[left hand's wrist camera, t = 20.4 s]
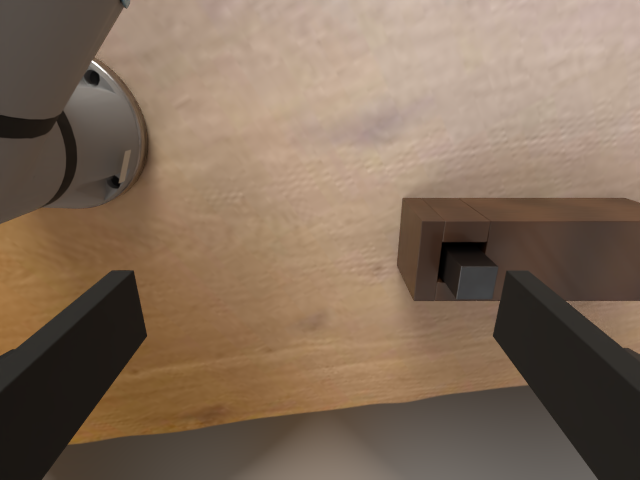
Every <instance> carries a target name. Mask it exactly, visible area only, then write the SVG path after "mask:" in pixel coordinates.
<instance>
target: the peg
mask: <svg viewBox="0 0 640 480" xmlns="http://www.w3.org/2000/svg"><path fill="white" fill-rule="evenodd" d="M438 273H439V275H440V276H441V278H442V279H443V281H444V282H445V283H446V285H447V286H448V288H449V289H450V291H451V292H452V294H453V295H454V297H455V298H456V299H492V298H493V293H494V288H495V283H496V278H497V273H498V266H497V265H496V264H495V263H494V262H493V261H492V260H491V259H490V258H489V257H487V256H486V255H485V254H484V253H483V252H482V251H481V250H480V249H479V248H478V247H477V246H476V245H475V244H474V243H472V242H442V247H441V254H440V262H439V270H438Z"/></svg>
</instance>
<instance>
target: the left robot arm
mask: <svg viewBox="0 0 640 480" xmlns="http://www.w3.org/2000/svg"><path fill="white" fill-rule="evenodd" d="M129 4H130V0H0V224H1V223H4V222H6V221H9V220H11V219H14V218H16V217H19V216H21V215H24V214H26V213H29V212H32V211H34V210H36V209H39V208H41V207H47V208H74V209H76V208H78V209H79V208H90V207H95V206H99V205H102V204H104V203H107V202H109V201H111V200H113V199H115V198H117V197H119V196H121V195H122V194H124V193H125V192H126V191H128V190H129V189H130V188H131V187H132V186H133V185H134V183H135V182H136V181H137V179H138V178H139V176H140V174H141V172H142V170H143V168H144V165H145V161H146V157H147V148H148V138H147V130H146V125H145V121H144V118H143V115H142V112H141V110H140V107H139V105H138V103H137V101H136V99H135V98H134V96H133V94H132V93H131V91H130V90H129V89H128V87H127V86H126V84H125V83H124V82H123V81H122V80H121V79H120V78H119V77H118V76H117V75H116V74H115V73H114V72H113V71H112V70H111V69H110V68H109V67H107V66H106V65H105V64H103V63H102V62H101V61H99V60H98V59H96V58H94V57H95V55H96V53H97V52H98V50H99V48H100V47H101V45H102V43H103V42H104V40H105V38H106V36H107V35H108V33H109V31H110V30H111V28H112V26H113V25H114V23H115V21H116V19H117V18H118V16H119V14H120V13H121V11H122V9H123V8H124V7H125V8H126V9H127V8H128V6H129ZM146 337H147V333H146V328H145V323H144V319H143V314H142V309H141V304H140V299H139V294H138V289H137V285H136V280H135V275H134V270H112V271H111V272H109V273H108V274H107V275H106V276H104V277H103V278H102V279H101V280H100V281H98V282H97V283H96V284H95V285H93V286H92V287H91V288H90V289H89V290H87V291H86V292H85V293H84V294H82V295H81V296H80V297H79V298H78V299H76V300H75V301H74V302H73V303H71V304H70V305H69V306H68V307H67V308H65V309H64V310H63V311H62V312H60V313H59V314H58V315H57V316H56V317H54V318H53V319H52V320H51V321H49V322H48V323H47V324H46V325H45V326H43V327H42V328H41V329H40V330H38V331H37V332H36V333H35V334H34V335H32V336H31V337H30V338H29V339H27V340H26V341H25V342H24V343H22V344H21V345H20V346H19V347H18V348H16V349H12V350H10V351H8V352H7V353H5V354H3V355H1V356H0V480H42V479H43V477H44V476H45V474H46V473H47V472H48V470H49V469H50V468H51V466H52V465H53V464H54V462H55V461H56V459H57V458H58V457H59V455H60V454H61V453H62V451H63V450H64V449H65V447H66V446H67V445H68V443H69V442H70V440H71V439H72V438H73V436H74V435H75V434H76V432H77V431H78V430H79V428H80V427H81V425H82V424H83V423H84V421H85V420H86V419H87V417H88V416H89V415H90V413H91V412H92V410H93V409H94V408H95V406H96V405H97V404H98V402H99V401H100V400H101V398H102V397H103V395H104V394H105V393H106V391H107V390H108V389H109V387H110V386H111V385H112V383H113V382H114V380H115V379H116V378H117V376H118V375H119V374H120V372H121V371H122V370H123V368H124V367H125V365H126V364H127V363H128V361H129V360H130V359H131V357H132V356H133V355H134V353H135V352H136V350H137V349H138V348H139V346H140V345H141V344H142V342H143V341H144V340H145V338H146ZM493 337H494V338H495V340H496V341H497V342H498V344H499V345H500V346H501V348H502V349H503V350H504V352H505V353H506V355H507V356H508V357H509V359H510V360H511V361H512V363H513V364H514V365H515V367H516V368H517V370H518V371H519V372H520V374H521V375H522V376H523V378H524V379H525V380H526V382H527V383H528V385H529V386H530V387H531V389H532V390H533V391H534V393H535V394H536V395H537V397H538V398H539V400H540V401H541V402H542V404H543V405H544V406H545V408H546V409H547V410H548V412H549V413H550V415H551V416H552V417H553V419H554V420H555V421H556V423H557V424H558V425H559V427H560V428H561V429H562V431H563V432H564V434H565V435H566V436H567V438H568V439H569V440H570V442H571V443H572V444H573V446H574V447H575V449H576V450H577V451H578V453H579V454H580V455H581V457H582V458H583V460H584V461H585V462H586V464H587V465H588V466H589V468H590V469H591V470H592V472H593V473H594V474H595V476H596V477H597V479H598V480H640V354H638V353H636V352H634V351H633V350H631V349H629V348H622V347H621V346H620V345H619V344H618V343H616V342H615V341H614V340H613V339H611V338H610V337H609V336H608V335H606V334H605V333H604V332H603V331H602V330H600V329H599V328H598V327H597V326H595V325H594V324H593V323H592V322H591V321H589V320H588V319H587V318H586V317H584V316H583V315H582V314H581V313H580V312H578V311H577V310H576V309H575V308H573V307H572V306H571V305H570V304H569V303H567V302H566V301H565V300H564V299H562V298H561V297H560V296H559V295H558V294H556V293H555V292H554V291H553V290H551V289H550V288H549V287H548V286H547V285H545V284H544V283H543V282H542V281H540V280H539V279H538V278H537V277H536V276H534V275H533V274H532V273H531V272H529V271H528V270H506V275H505V280H504V285H503V289H502V294H501V299H500V304H499V309H498V314H497V319H496V323H495V328H494V333H493Z"/></svg>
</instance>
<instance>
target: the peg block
mask: <svg viewBox="0 0 640 480" xmlns="http://www.w3.org/2000/svg"><path fill="white" fill-rule="evenodd" d="M442 242H472V243H474V244H475V245H476V246H477V247H478V248H479V249H480V250H481V251H482V252H483V253H484V254H485V255H486V256H487V257H489V258H490V259H491V260H492V261H493V262H494V263H495V264H496V265H497V266H498V273H497V278H496V283H495V288H494V293H493V298H492V299H456V298H455V297H454V295H453V294H452V292H451V291H450V289H449V288H448V286H447V285H446V283H445V282H444V281H443V279H442V278H441V276H440V275H439V273H438V270H439V262H440V254H441V247H442ZM397 266H398V268H399V270H400V273H401V275H402V277H403V279H404V281H405V283H406V285H407V287H408V290H409V292H410V294H411V296H412V298H413V300H414V301H434V300H435V301H476V300H477V301H500V299H501V294H502V289H503V285H504V280H505V275H506V270H528V271H529V272H531V273H532V274H533V275H534V276H536V277H537V278H538V279H539V280H540V281H542V282H543V283H544V284H545V285H547V286H548V287H549V288H550V289H551V290H553V291H554V292H555V293H556V294H558V295H559V296H560V297H561V298H562V299H564V300H565V301H640V203H639V202H635V201H632V200H629V199H626V198H422V199H421V198H403V201H402V213H401V224H400V236H399V248H398V260H397Z"/></svg>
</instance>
